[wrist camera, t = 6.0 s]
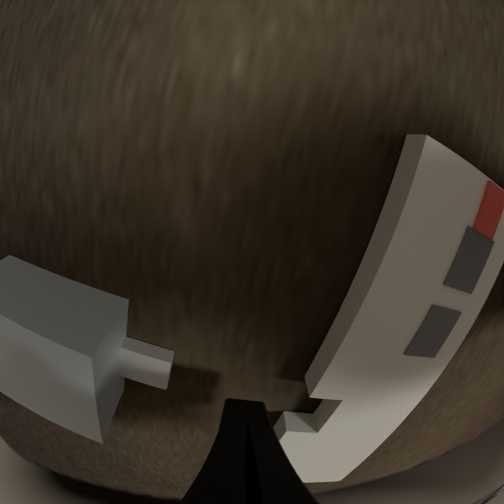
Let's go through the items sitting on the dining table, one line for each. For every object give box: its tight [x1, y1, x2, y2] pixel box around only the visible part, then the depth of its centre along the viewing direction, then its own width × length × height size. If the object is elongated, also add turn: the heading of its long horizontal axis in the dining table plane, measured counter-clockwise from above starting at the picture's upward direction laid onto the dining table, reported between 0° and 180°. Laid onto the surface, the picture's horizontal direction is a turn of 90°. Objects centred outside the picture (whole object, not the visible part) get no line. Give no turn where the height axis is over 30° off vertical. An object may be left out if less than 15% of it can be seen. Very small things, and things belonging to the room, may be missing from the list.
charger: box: [0, 255, 175, 444], centre depth 9 cm, size 8×5×4 cm, turn 73°
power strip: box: [273, 135, 504, 482], centre depth 10 cm, size 6×18×1 cm, turn 163°
